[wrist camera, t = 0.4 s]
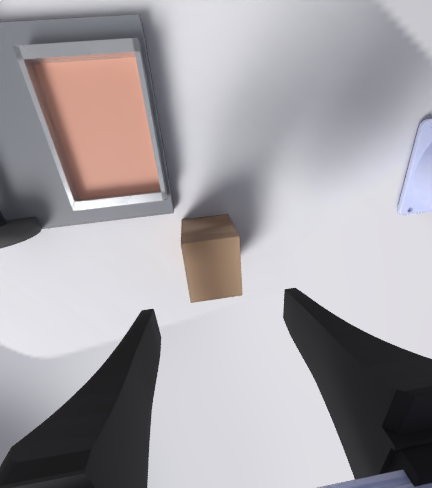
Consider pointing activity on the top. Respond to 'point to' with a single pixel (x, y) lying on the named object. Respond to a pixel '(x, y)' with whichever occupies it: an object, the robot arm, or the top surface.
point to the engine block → (211, 258)
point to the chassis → (77, 126)
